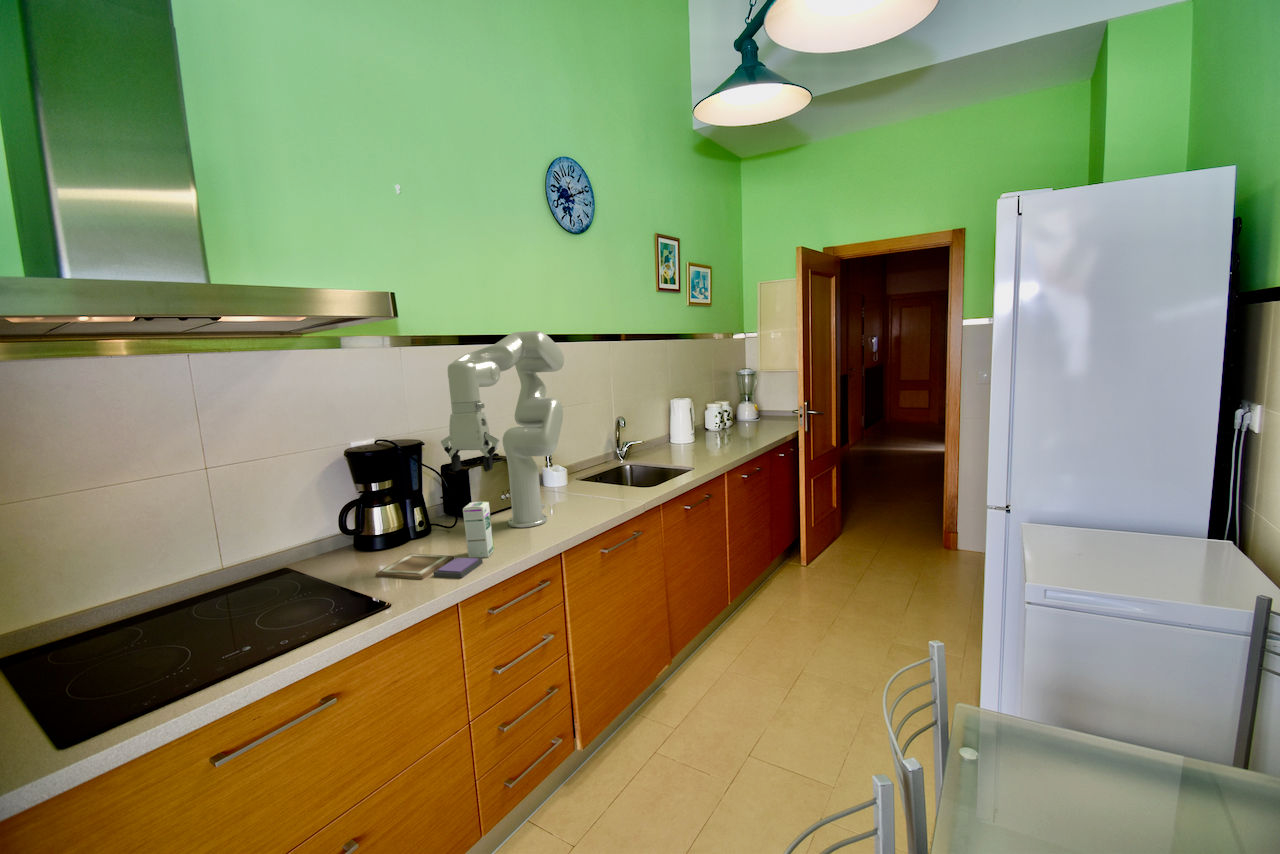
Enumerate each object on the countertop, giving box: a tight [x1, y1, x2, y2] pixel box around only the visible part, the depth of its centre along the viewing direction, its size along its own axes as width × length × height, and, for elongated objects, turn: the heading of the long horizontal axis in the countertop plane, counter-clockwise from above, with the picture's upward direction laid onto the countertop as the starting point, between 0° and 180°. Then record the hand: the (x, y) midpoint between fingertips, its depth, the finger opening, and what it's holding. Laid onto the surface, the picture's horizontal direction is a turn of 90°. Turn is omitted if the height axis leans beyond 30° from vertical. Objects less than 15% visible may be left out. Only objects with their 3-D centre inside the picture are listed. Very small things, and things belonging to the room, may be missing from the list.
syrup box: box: [462, 500, 495, 559], centre depth 155 cm, size 6×6×14 cm
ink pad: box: [433, 557, 483, 579], centre depth 146 cm, size 8×10×2 cm
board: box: [374, 553, 455, 580], centre depth 149 cm, size 14×14×1 cm
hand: (472, 470), depth 153 cm, fingers open, 9 cm apart
